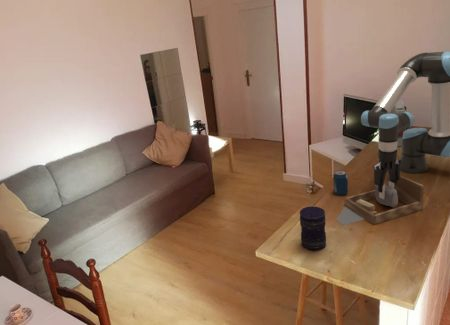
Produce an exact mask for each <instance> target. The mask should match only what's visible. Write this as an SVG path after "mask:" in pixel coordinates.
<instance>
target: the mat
mask: <svg viewBox="0 0 450 325" xmlns="http://www.w3.org/2000/svg"><path fill="white" fill-rule="evenodd" d="M364 220H365V221H366V219H364V218H363V217H361V216H360V215H358V214H357V213H355V212H354V211H352V210H351V209H349V208H348V207H346V206H345V205H344V206H343V208H342V210H341V212H340V214H339V215H338V216H337V218H336V222H338V223H340V225H341V226H347V225H348V226H349V225H350V224H354V223H358V222H362V221H364Z"/></svg>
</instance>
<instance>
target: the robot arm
mask: <svg viewBox="0 0 450 325" xmlns="http://www.w3.org/2000/svg"><path fill="white" fill-rule="evenodd" d="M419 78H427V83H428V84H430V85H431V99H430V100H431V103H430V104H431V110H430V111H431V114H430V116H431V118H430V120H431V121H430V122H431V124H430V125H431V128H430V129H429V130H428V129H427V128H425V127H413V128H411V127H412V126H413V125H414V123H415V116H414V115H413V114H412V113H411V112H408V111H405V112H402V113H400V114H397V113H390V111H391V110H392V109H393V107H394V106H395V104H396V103H397V102H398V100H401V98H402V96H403V95H404V93H406V91H407V89H408V88H409V87H410V85H411V84H412V83H414V82H415V81H416V80H417V79H419ZM360 122H361V125H362V126H365V127H369V128H378V150H377V151H378V152H377V153H378V154H377V155H378V159H379V160H378V163H377V164H373V165H372V167H373V174H374V176H373V184H374V186H375V185H377V186H378V192H379V197H380V198H382V199H385V186H384V184H385V180H386V177H387V176H386V175H387V171H389V177H390V181H391V182H390V181H389V187H390V188H392V189H395V183H397V180H399V179H400V176H401V171H402V172H404V173H409V174H410V173H411V174H419V173H421V174H422V173H425V172H427V171H428V168H429V164H428V162H427V158H426V155H431V156H434V157H435V156H436V157H440V158H442V157H443V158H450V51H449V50H448V51H447V50H446V51H435V52H432V51H431V52H421V53H418V54H415V55H413V56H412V57H410V58H409V59H408V60H406V61H405V62H404V63H403V64H402V65H400V68H399V69H398V70H397V72H396V76H395V78H393V80H392V81H391V83H390V84H389V86H388V87H387V89H386V90H385V91H384V93H383V94H382V95H381V97H380V98H379V99H378V101H377V102H376V104H375V105H374V106H373V107H372V108H371V110H365V111H363V112H362V114H361V116H360ZM404 130H405V131H404ZM401 131H404V132H403V138H402V146H401V156H400V158H398V146H397V142H398V133H399V132H401ZM396 176H397V177H396Z"/></svg>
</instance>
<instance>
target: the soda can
mask: <svg viewBox="0 0 450 325" xmlns="http://www.w3.org/2000/svg"><path fill="white" fill-rule="evenodd" d="M332 176H333V180H332V181H333V193H334V194H335V195H337V196H339V195H340V197H341V195H343V196H346V195H347V194H348V192H349V188H348V186H349V185H348V184H349V181H348V180H349V177H348V174H347V171H346V170H343V169H342V170H341V169H340V170H339V169H338V170H336V171H334V174H333V175H332Z"/></svg>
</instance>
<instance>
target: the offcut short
mask: <svg viewBox="0 0 450 325" xmlns="http://www.w3.org/2000/svg"><path fill="white" fill-rule="evenodd" d="M356 204H358V205H359V206H361V207H363V208H364V209H366V210H368V211H369V212H372V211H375V208H376V206H375V204H373V203H371V202H368V201H364V200H362V199H360V200H357V201H356Z"/></svg>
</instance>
